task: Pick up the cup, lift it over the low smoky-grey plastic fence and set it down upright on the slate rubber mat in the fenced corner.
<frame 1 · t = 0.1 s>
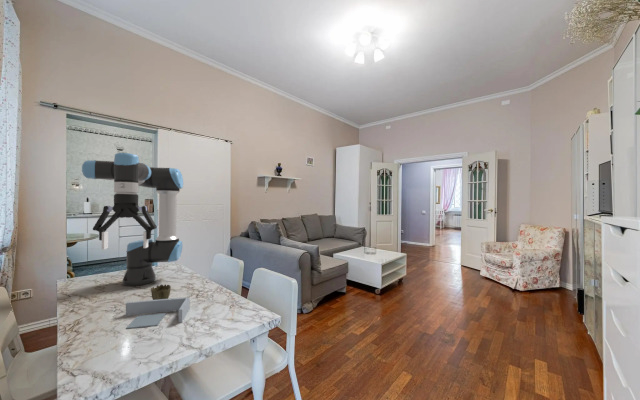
hand: (125, 248, 97), 28 cm above the table, fingers open, 13 cm apart
cup: (160, 305, 111), on the table
mat: (147, 320, 97), on the table
fence: (157, 312, 104), resting in mat
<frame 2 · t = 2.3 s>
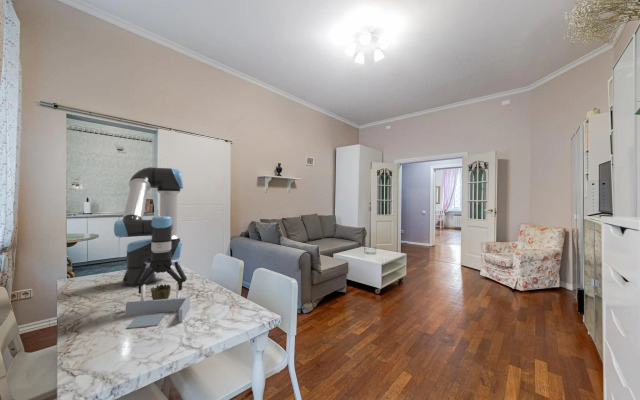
hand: (160, 299, 111), 3 cm above the table, fingers open, 13 cm apart
nothing on the table moved.
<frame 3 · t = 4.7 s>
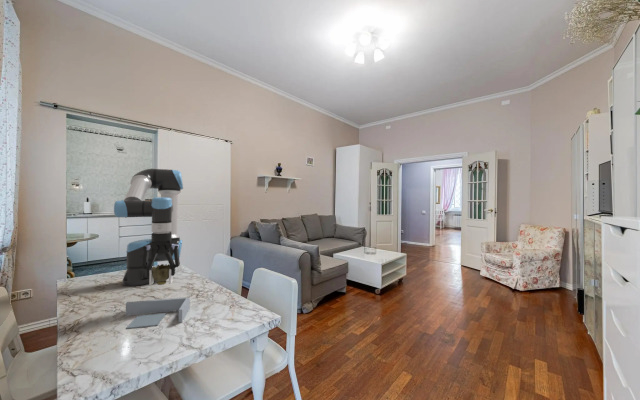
hand: (161, 283, 112), 9 cm above the table, fingers closed on cup, 7 cm apart
cup: (161, 284, 112), point 9 cm above the table, touching gripper
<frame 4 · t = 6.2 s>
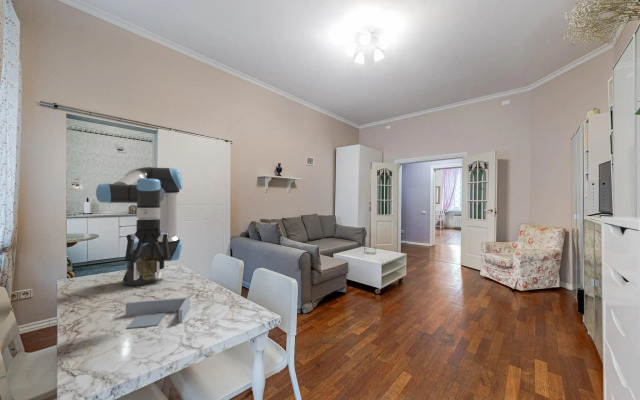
hand: (147, 278, 97), 17 cm above the table, fingers closed on cup, 7 cm apart
cup: (148, 279, 97), point 16 cm above the table, touching gripper
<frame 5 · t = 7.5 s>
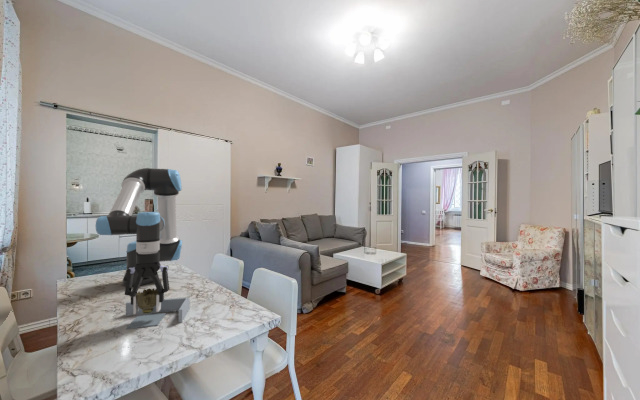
hand: (147, 311, 97), 4 cm above the table, fingers closed on cup, 7 cm apart
cup: (147, 312, 97), point 3 cm above the table, touching gripper
when the fingers open (1 cm above the table, at t = 8.4 s): cup moves 3 cm, resting on mat.
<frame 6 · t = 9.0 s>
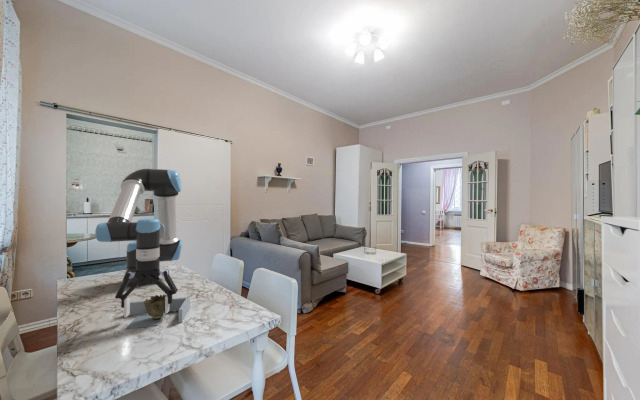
hand: (147, 313, 97), 3 cm above the table, fingers open, 13 cm apart
cup: (157, 318, 98), resting on mat, touching gripper
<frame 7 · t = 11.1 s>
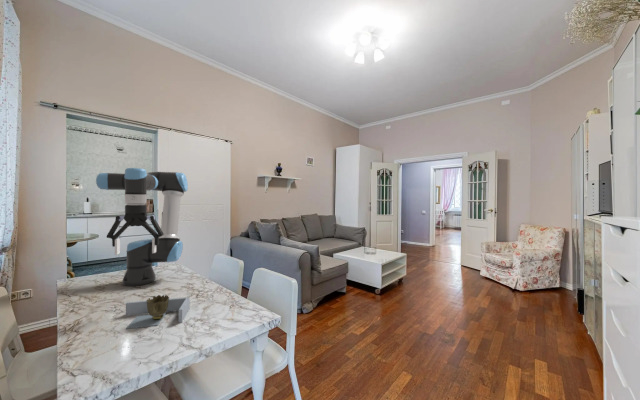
hand: (136, 253, 108), 23 cm above the table, fingers open, 13 cm apart
cup: (157, 319, 98), resting on mat
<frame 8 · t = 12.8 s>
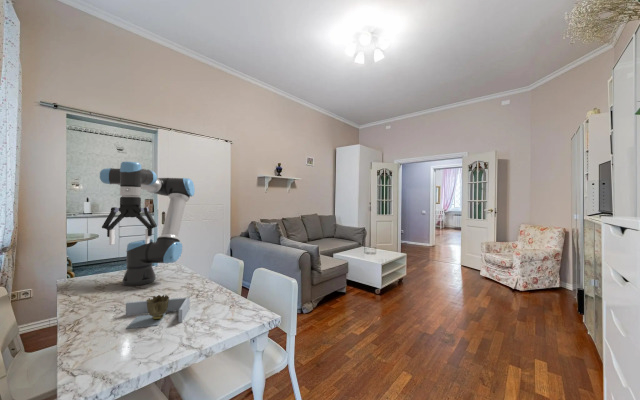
hand: (130, 244, 112), 27 cm above the table, fingers open, 13 cm apart
nothing on the table moved.
at the end: cup inside the target area on the mat (3.5 cm from its centre), point 0.2 cm above the mat's base; cup tilted 0°; the gripper is holding nothing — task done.
